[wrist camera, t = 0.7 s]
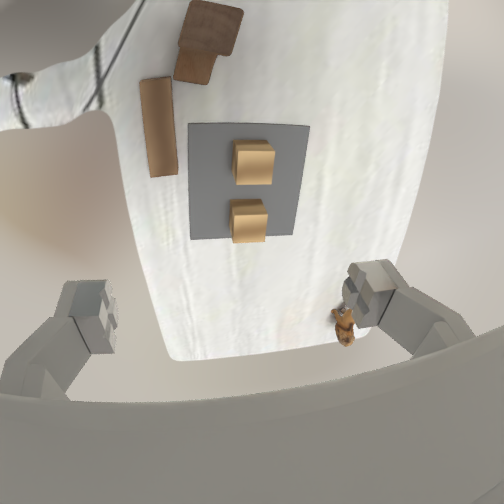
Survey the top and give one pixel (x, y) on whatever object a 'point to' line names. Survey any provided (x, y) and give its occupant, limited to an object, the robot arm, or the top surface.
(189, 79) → the wooden block
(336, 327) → the lion figurine
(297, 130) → the mat
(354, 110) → the top surface
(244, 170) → the cube
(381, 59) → the top surface
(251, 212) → the cube
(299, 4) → the top surface
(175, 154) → the lintel
